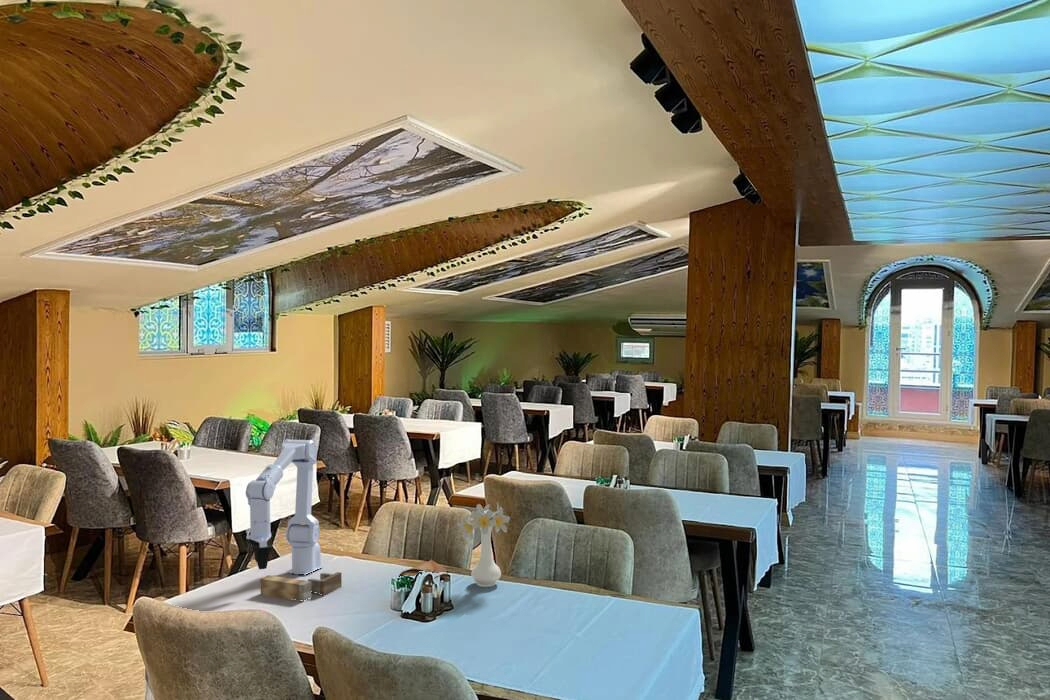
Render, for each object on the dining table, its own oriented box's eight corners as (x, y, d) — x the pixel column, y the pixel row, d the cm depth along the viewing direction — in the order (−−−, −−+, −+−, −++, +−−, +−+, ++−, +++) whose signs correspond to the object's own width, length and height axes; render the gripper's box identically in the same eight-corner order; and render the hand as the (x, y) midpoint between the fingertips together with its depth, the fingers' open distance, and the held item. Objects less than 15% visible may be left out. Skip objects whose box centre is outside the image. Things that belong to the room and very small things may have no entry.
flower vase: (452, 590, 250) (451, 509, 249) (484, 573, 266) (484, 498, 265) (487, 597, 243) (487, 514, 242) (518, 580, 259) (518, 502, 258)
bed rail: (260, 595, 246) (260, 578, 245) (268, 591, 249) (268, 575, 249) (304, 601, 240) (303, 585, 239) (311, 598, 243) (311, 581, 243)
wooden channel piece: (306, 593, 247) (306, 578, 247) (324, 584, 255) (324, 570, 255) (324, 596, 244) (323, 581, 244) (341, 587, 253) (341, 572, 253)
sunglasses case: (419, 586, 253) (410, 567, 254) (404, 595, 256) (395, 575, 257) (451, 571, 268) (443, 552, 270) (436, 579, 271) (428, 560, 273)
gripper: (243, 516, 248) (244, 560, 248) (248, 527, 235) (249, 573, 235) (268, 513, 251) (268, 557, 251) (274, 524, 237) (274, 570, 238)
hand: (261, 565), depth 243 cm, fingers open, 7 cm apart
